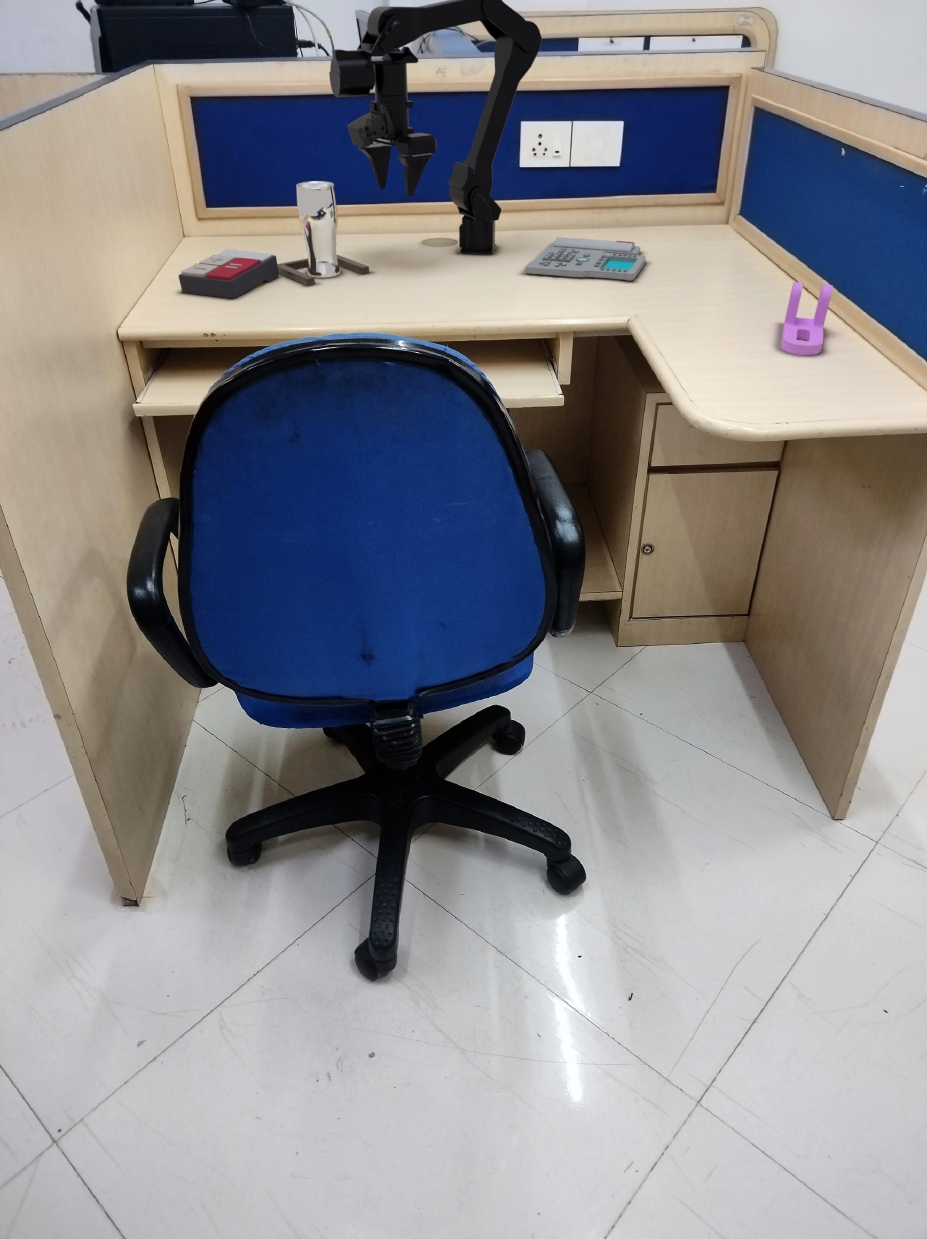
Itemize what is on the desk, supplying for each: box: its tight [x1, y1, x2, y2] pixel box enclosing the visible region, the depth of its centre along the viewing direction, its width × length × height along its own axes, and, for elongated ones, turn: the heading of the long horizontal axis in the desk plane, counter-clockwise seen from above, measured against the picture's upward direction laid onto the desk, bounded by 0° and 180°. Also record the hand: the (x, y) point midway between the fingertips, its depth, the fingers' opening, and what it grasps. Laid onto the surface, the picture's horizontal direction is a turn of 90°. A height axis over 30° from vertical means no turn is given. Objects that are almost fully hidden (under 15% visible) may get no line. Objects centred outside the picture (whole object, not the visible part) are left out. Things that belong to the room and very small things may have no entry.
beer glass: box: [295, 180, 341, 279], centre depth 153 cm, size 7×7×15 cm
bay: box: [277, 253, 370, 287], centre depth 158 cm, size 12×13×1 cm
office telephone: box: [524, 236, 647, 281], centre depth 162 cm, size 23×3×20 cm
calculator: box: [178, 248, 280, 299], centre depth 151 cm, size 11×4×15 cm
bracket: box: [780, 281, 834, 356], centre depth 125 cm, size 13×6×7 cm, turn 161°
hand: (396, 192), depth 157 cm, fingers open, 9 cm apart
